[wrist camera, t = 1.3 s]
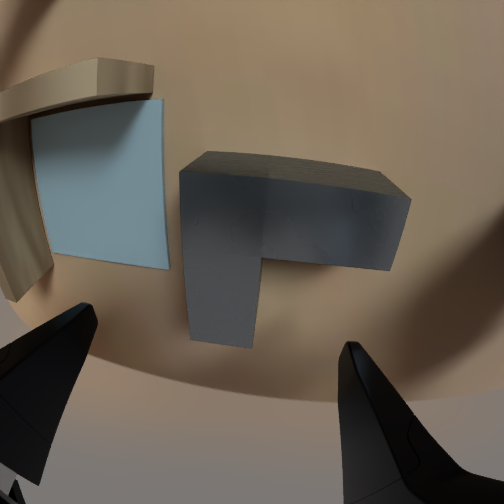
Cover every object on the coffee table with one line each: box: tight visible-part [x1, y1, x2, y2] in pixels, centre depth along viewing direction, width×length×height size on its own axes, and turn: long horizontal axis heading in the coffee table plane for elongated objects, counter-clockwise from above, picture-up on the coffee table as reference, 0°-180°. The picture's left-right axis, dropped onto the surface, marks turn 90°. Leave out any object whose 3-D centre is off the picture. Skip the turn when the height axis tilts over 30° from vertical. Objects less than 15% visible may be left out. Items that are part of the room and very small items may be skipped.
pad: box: [31, 99, 170, 270], centre depth 12 cm, size 8×8×1 cm
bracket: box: [179, 151, 412, 348], centre depth 11 cm, size 7×7×4 cm
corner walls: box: [0, 57, 154, 303], centre depth 10 cm, size 9×11×4 cm
